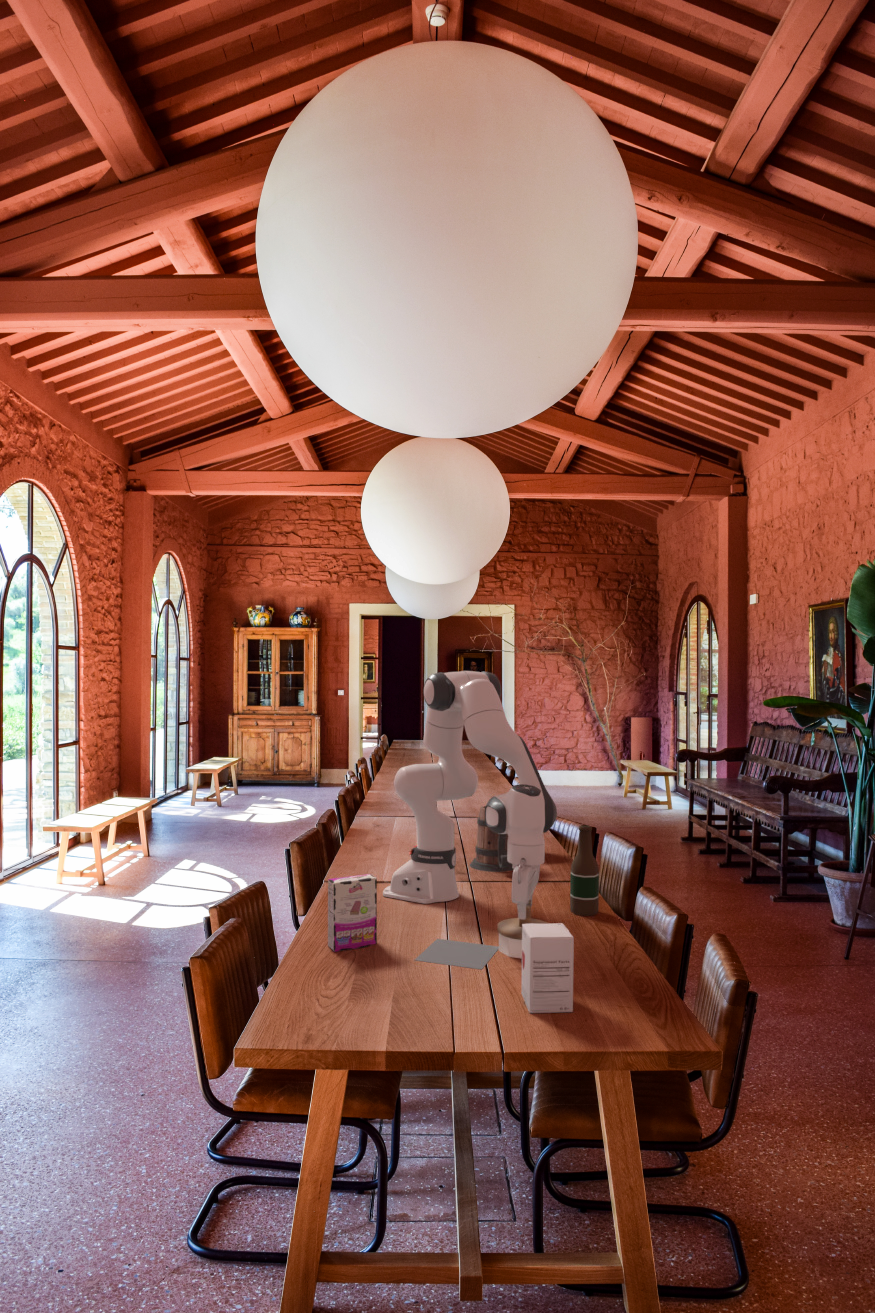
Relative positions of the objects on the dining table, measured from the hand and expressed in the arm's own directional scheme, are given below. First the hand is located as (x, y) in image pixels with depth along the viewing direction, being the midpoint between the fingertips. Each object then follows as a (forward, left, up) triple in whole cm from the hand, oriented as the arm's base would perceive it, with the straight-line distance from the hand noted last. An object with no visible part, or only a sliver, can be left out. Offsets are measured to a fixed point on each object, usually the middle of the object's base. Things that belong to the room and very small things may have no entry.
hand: (525, 912), depth 196 cm
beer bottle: (+8, +38, -10) cm, 40 cm away
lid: (0, 0, -4) cm, 4 cm away
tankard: (-28, +78, -10) cm, 83 cm away
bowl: (0, 0, -9) cm, 9 cm away
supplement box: (+11, -28, -10) cm, 32 cm away
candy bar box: (-40, -11, -10) cm, 43 cm away
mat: (-14, -8, -9) cm, 19 cm away
